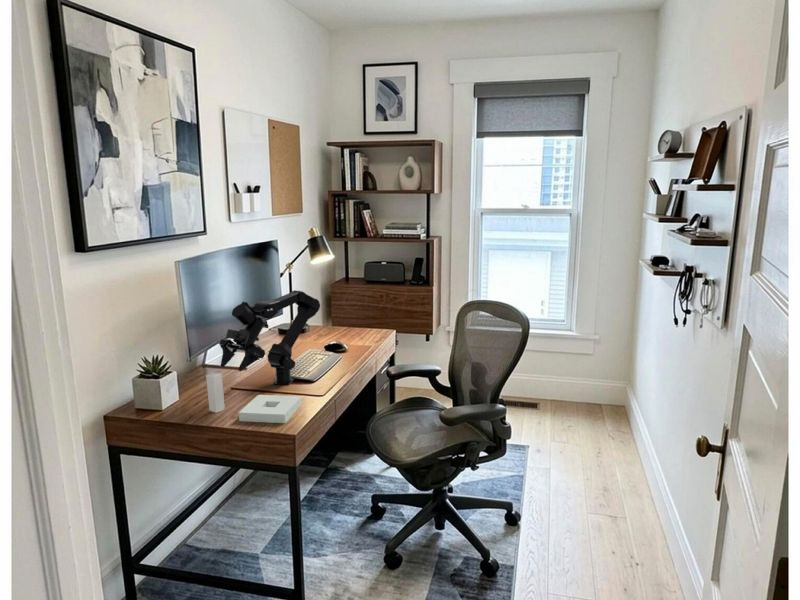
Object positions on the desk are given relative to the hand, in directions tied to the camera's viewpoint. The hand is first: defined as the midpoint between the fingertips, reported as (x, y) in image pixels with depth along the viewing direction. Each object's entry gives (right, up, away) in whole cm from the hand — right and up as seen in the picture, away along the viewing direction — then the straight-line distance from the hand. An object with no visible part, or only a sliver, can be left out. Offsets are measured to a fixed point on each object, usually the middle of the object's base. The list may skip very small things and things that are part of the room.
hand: (230, 368), depth 190 cm
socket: (+16, -14, -6) cm, 23 cm away
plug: (-3, -14, -3) cm, 15 cm away
